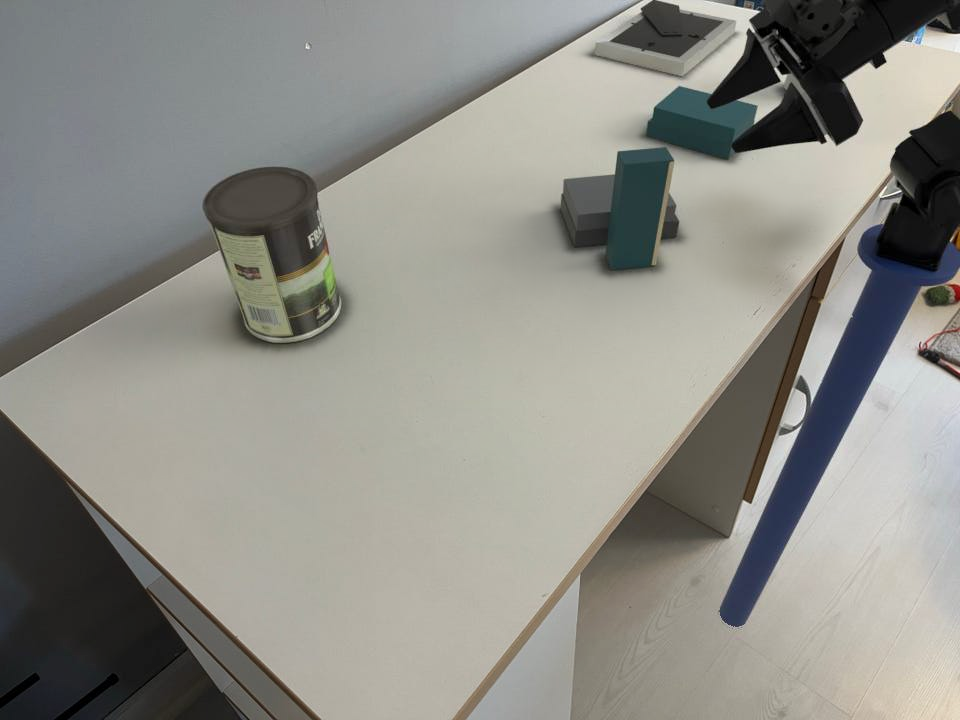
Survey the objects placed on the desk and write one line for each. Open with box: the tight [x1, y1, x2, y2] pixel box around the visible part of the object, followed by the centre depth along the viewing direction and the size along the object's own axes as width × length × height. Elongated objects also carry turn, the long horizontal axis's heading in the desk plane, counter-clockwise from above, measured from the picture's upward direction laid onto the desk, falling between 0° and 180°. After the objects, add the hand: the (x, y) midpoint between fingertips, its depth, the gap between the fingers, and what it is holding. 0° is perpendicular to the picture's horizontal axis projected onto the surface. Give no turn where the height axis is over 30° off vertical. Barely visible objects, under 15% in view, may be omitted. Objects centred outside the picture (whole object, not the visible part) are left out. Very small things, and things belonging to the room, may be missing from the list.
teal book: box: [604, 146, 675, 271], centre depth 75 cm, size 5×3×13 cm, turn 97°
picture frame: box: [594, 0, 738, 77], centre depth 121 cm, size 16×3×21 cm
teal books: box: [645, 85, 759, 160], centre depth 98 cm, size 12×8×4 cm
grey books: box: [560, 173, 680, 248], centre depth 83 cm, size 12×8×4 cm, turn 97°
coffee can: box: [202, 166, 342, 344], centre depth 70 cm, size 10×10×14 cm
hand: (720, 126), depth 72 cm, fingers open, 9 cm apart
